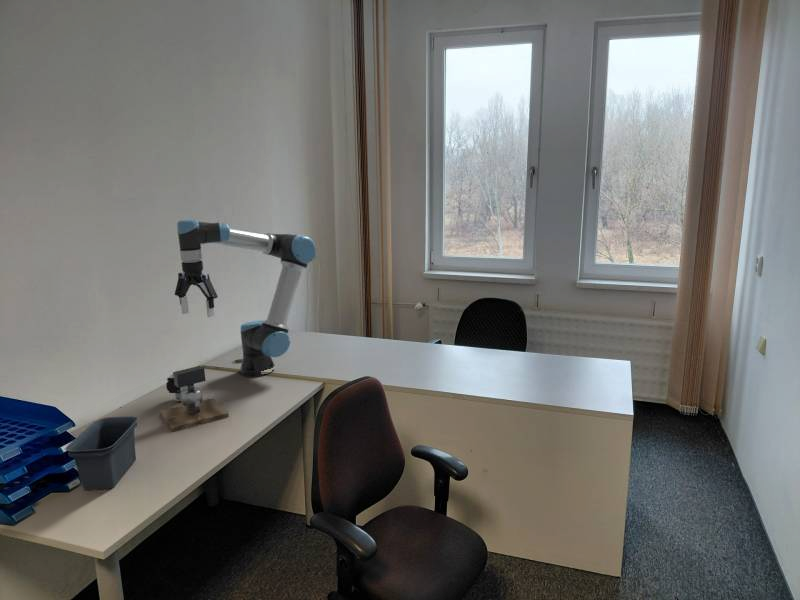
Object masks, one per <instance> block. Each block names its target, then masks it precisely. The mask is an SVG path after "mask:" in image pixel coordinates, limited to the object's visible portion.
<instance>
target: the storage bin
mask: <svg viewBox="0 0 800 600" xmlns="http://www.w3.org/2000/svg"><path fill="white" fill-rule="evenodd" d="M138 420H139V418H138V417H137V416H133V415H131V416H128V415H127V416H112V417H111V416H110V417H103V418H99V419H97V420H95V421H93V422H92V423H91V424H90V425H89V426H88V427H86V428H85V430H83V431H82V432H81V433H80V434H79V435H77V437H76V438H74V441H73V440H72V441H71V442H70V443H69V444H67V446H66V447H65V450H66V451H68V452H67V453H68V454H67V455H68V457H71V458H73V459H74V463H75V465H76V469H77V472H78V475H79V479H80V483H81V485H82V488H83V490H85V491H91V490H90V489H99V490H110V488H111V489H114V488H115V486H116V485H117V484H118V483H119V482H120V480H121V479H122V478H123V476H125V474H126V473H127V472H128V470H130V468H131V467H132V466H133V464H134V463H135V462H136V460H137V457H136V441H135V429H136V428H137V426H138Z"/></svg>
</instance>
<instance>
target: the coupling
mask: <svg viewBox="0 0 800 600" xmlns="http://www.w3.org/2000/svg"><path fill="white" fill-rule="evenodd" d="M172 374H173V376H174V384H175V386H176V387H178V388H181V387H184V386H187V388H186V389H184V390H182V391H181V396H182V401H181V403H182V406H183V405H184V406H199V405H200V403H202V401H203V394H202V392H203V391H202V388H201V387H200V386H195V384H198V383H203V382H206V372H205V368H204V367H203V366H202V365H196V366H192V367H188V368H185V369H181V370H176V371H172Z"/></svg>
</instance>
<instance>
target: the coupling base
mask: <svg viewBox="0 0 800 600" xmlns="http://www.w3.org/2000/svg"><path fill="white" fill-rule="evenodd" d="M159 414H160V416H161V418H162V419H163V421H164V422H165V424H166V425H167V427H168V426H169V427H168V428H169V430H170V429H171V430H170V431H171V432H176V430H177V431H179V430H184V429H187V427H188V428H191V426H192V427H195V426H197V425H198V424H199V425H203V424H206V423H210V422H213V421H218V420H222V419H224V418H228V417H229V412H228V411H227V410H226V409H225V408H224V406H222V405H221V403H219V402H218V401H217V400H216V399H215V398H214V397H211V398H207V399H202V403H200V405H199V406H184V405H183V404H182V405H179V406H175V407H171V408H166V409H163V410H160V411H159ZM217 419H218V420H217ZM202 423H203V424H202ZM194 425H195V426H194ZM199 425H198V426H199ZM183 428H184V429H183Z"/></svg>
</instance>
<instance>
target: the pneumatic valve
mask: <svg viewBox="0 0 800 600" xmlns="http://www.w3.org/2000/svg"><path fill="white" fill-rule="evenodd" d="M166 380H167V382H166V383H165V385H166V390H167V391H168V393H169V394H174V395H175V401H176V402H182V396H181V391H182V390H184V389H186V388H187V386H184V387H181V388H178V387H176V386H175V384H174V376H173V373H172V374H170V376H168V377H167V379H166Z"/></svg>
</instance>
